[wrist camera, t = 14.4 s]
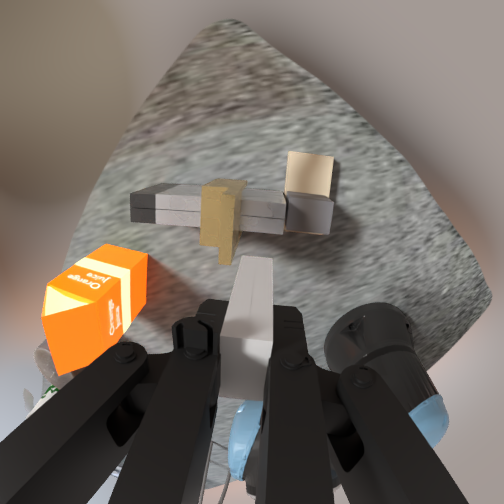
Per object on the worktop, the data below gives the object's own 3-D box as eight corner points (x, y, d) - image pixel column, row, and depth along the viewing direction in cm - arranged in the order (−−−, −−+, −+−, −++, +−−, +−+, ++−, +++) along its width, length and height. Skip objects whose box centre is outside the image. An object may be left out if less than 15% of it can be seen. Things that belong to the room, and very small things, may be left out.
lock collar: (247, 180, 31) (235, 195, 20) (243, 227, 33) (230, 265, 22) (217, 178, 31) (189, 192, 20) (214, 225, 33) (188, 260, 22)
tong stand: (331, 157, 33) (344, 157, 27) (321, 231, 36) (331, 247, 30) (288, 151, 33) (292, 150, 27) (280, 227, 36) (282, 242, 30)
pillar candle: (115, 354, 47) (81, 406, 33) (77, 341, 47) (40, 386, 33) (108, 313, 44) (63, 364, 29) (68, 302, 44) (21, 344, 30)
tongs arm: (282, 191, 34) (286, 203, 26) (280, 202, 35) (284, 219, 26) (161, 183, 35) (130, 193, 26) (160, 194, 35) (130, 207, 27)
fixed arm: (280, 203, 35) (284, 219, 27) (279, 214, 36) (282, 234, 27) (161, 194, 36) (130, 208, 27) (161, 205, 36) (130, 221, 28)
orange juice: (148, 253, 39) (69, 330, 20) (146, 303, 42) (85, 390, 23) (105, 243, 39) (17, 304, 20) (106, 291, 42) (36, 364, 23)
